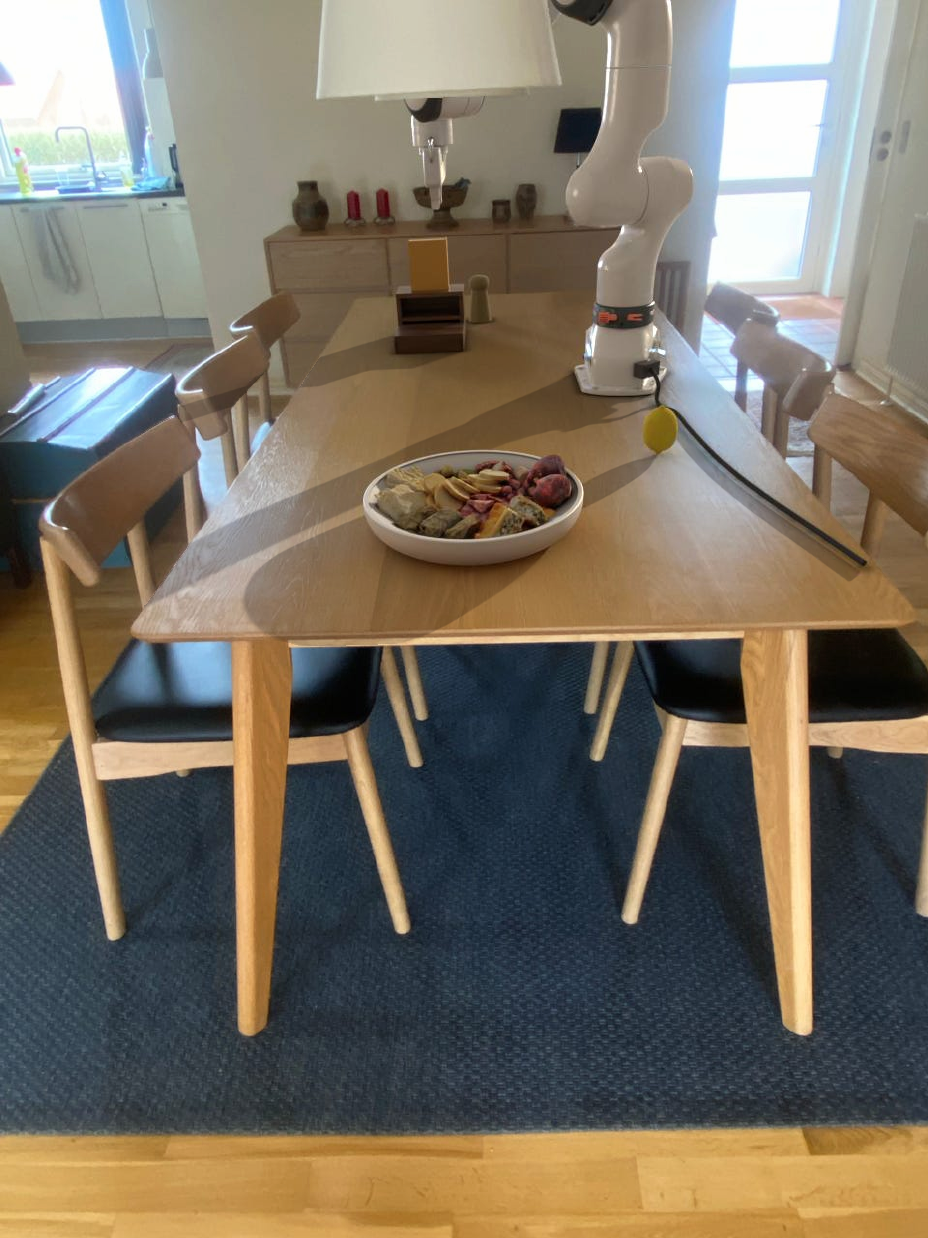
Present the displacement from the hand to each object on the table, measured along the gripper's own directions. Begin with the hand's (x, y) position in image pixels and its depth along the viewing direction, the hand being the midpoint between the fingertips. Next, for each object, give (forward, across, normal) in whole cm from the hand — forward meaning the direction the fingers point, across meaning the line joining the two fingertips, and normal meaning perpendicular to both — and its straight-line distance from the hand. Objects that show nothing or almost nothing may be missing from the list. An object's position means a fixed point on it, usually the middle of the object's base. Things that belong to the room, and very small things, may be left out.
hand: (436, 206), depth 187 cm
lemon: (+30, -81, -38) cm, 94 cm away
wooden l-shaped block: (+29, -4, +3) cm, 29 cm away
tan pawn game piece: (+29, +15, -9) cm, 34 cm away
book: (+18, +1, +3) cm, 18 cm away
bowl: (+30, -104, -8) cm, 108 cm away
